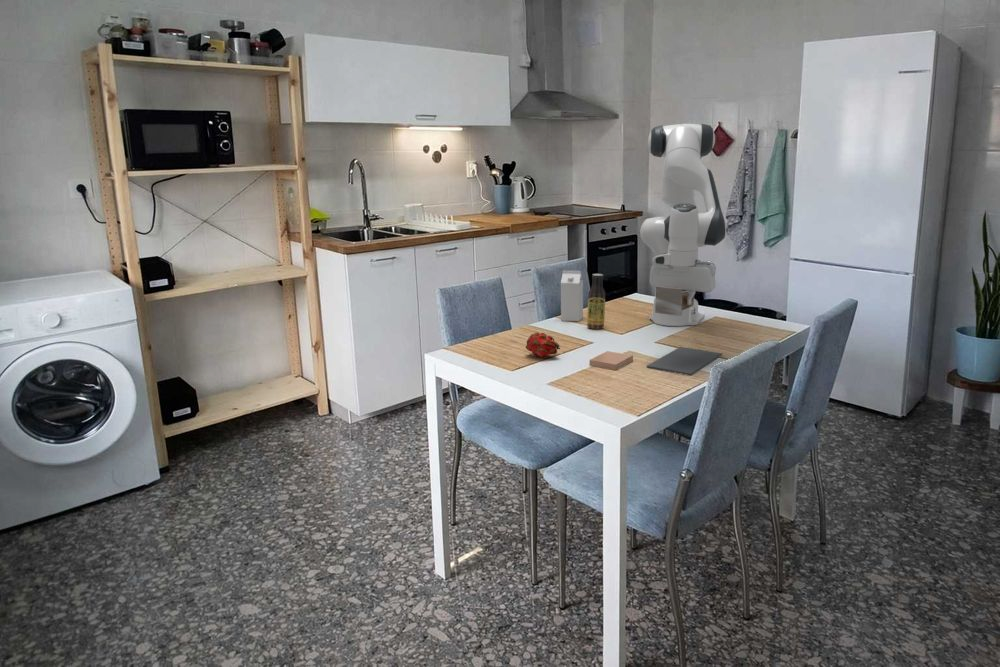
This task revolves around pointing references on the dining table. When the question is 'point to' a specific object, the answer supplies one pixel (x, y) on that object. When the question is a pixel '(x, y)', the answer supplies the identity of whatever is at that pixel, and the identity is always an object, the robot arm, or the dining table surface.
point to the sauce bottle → (596, 303)
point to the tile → (611, 360)
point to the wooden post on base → (671, 300)
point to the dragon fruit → (542, 345)
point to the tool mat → (685, 360)
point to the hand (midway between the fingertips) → (681, 303)
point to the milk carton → (571, 296)
